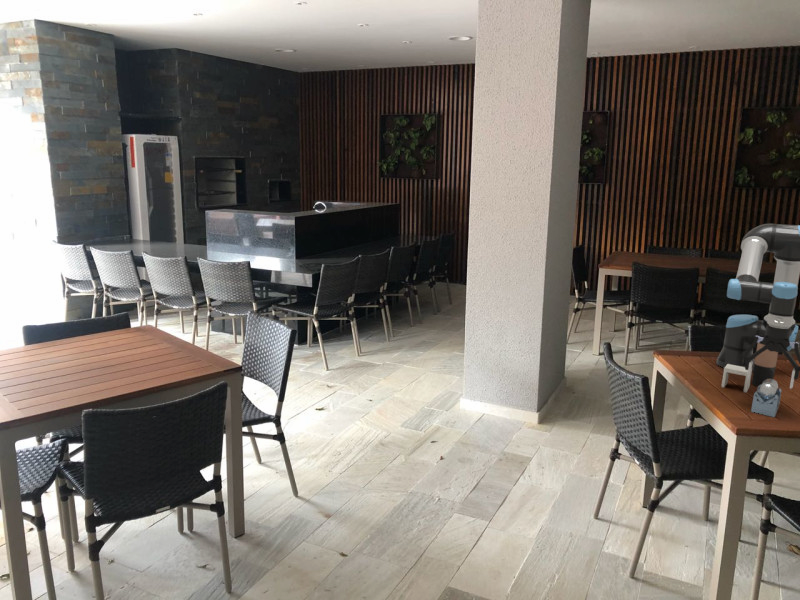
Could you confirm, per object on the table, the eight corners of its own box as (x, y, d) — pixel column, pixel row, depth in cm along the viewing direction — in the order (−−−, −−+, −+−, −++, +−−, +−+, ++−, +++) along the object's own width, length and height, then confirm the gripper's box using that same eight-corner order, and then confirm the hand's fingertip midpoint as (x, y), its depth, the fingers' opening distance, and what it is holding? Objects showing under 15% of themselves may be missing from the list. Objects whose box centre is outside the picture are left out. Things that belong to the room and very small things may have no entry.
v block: (756, 402, 242) (759, 383, 240) (778, 407, 238) (781, 388, 236) (751, 411, 232) (754, 392, 231) (774, 417, 228) (777, 397, 226)
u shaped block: (724, 382, 264) (727, 363, 262) (749, 387, 258) (752, 368, 257) (721, 387, 258) (724, 367, 256) (746, 392, 253) (749, 372, 251)
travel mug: (765, 382, 266) (773, 335, 262) (776, 388, 259) (784, 340, 255) (747, 381, 266) (754, 334, 262) (757, 387, 258) (765, 339, 254)
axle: (759, 387, 239) (767, 376, 237) (773, 394, 237) (780, 383, 235) (755, 394, 231) (763, 382, 229) (770, 402, 229) (777, 390, 227)
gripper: (738, 321, 232) (729, 377, 237) (819, 334, 218) (808, 393, 223) (741, 318, 238) (733, 373, 243) (821, 330, 224) (810, 388, 229)
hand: (769, 383), depth 233 cm, fingers open, 13 cm apart
